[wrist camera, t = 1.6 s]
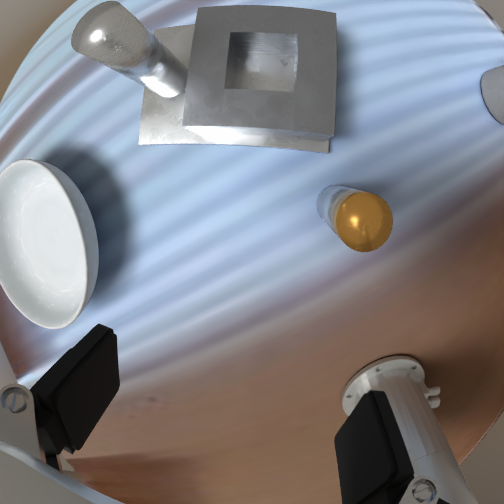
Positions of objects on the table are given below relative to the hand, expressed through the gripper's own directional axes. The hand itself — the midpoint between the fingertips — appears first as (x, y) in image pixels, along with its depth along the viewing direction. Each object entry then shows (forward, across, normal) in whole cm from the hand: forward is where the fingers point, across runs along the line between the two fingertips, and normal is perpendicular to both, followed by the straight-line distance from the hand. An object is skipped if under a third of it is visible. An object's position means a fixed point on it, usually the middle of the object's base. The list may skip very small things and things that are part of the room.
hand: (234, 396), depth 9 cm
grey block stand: (+21, +7, -16) cm, 27 cm away
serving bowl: (+21, +26, +5) cm, 34 cm away
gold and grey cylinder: (+21, -6, -6) cm, 22 cm away
